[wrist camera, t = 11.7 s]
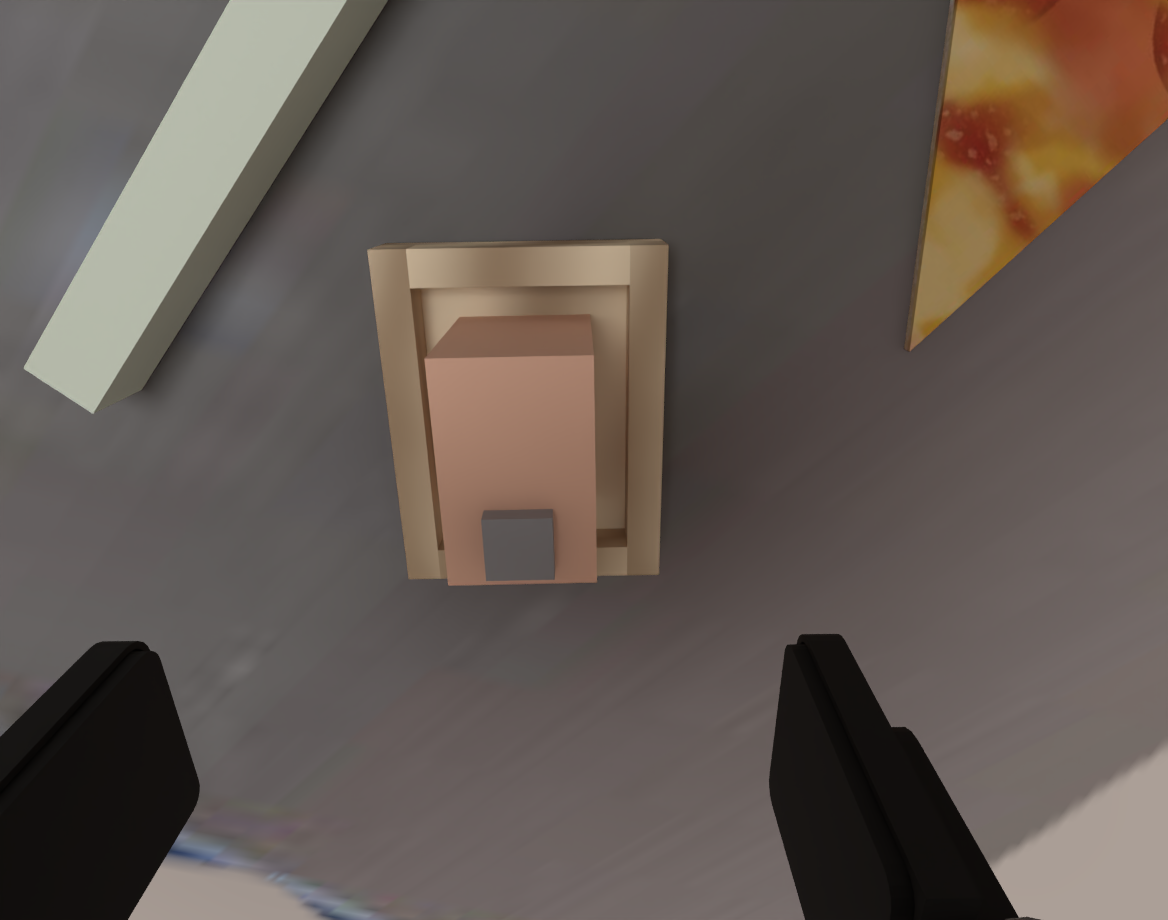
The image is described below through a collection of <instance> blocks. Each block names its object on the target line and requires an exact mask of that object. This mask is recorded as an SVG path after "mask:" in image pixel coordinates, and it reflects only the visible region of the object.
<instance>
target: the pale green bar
mask: <svg viewBox="0 0 1168 920" xmlns="http://www.w3.org/2000/svg"><path fill="white" fill-rule="evenodd" d="M387 1H388V0H230V1H229V3H228V5H227V6H226V8H225V10H224V12H223V14H222V15H221V17H220V19H219V21H218V23H217V24H216V26H215V28H214V30H213V31H212V33H211V35H210V37H209V39H208V40H207V42H206V44H205V46H204V47H203V49H202V51H201V53H200V55H199V56H198V58H197V60H196V62H195V63H194V65H193V67H192V69H191V71H190V72H189V74H188V76H187V78H186V79H185V81H184V83H183V85H182V87H181V88H180V90H179V92H178V94H177V96H176V97H175V99H174V101H173V103H172V104H171V106H170V108H169V110H168V112H167V113H166V115H165V117H164V119H163V120H162V122H161V124H160V126H159V128H158V129H157V131H156V133H155V135H154V136H153V138H152V140H151V142H150V144H149V145H148V147H147V149H146V151H145V153H144V154H143V156H142V158H141V160H140V161H139V163H138V165H137V167H136V169H135V170H134V172H133V174H132V176H131V177H130V179H129V181H128V183H127V185H126V186H125V188H124V190H123V192H122V193H121V195H120V197H119V199H118V201H117V202H116V204H115V206H114V208H113V210H112V211H111V213H110V215H109V217H108V218H107V220H106V222H105V224H104V226H103V227H102V229H101V231H100V233H99V234H98V236H97V238H96V240H95V242H94V243H93V245H92V247H91V249H90V250H89V252H88V254H87V256H86V258H85V259H84V261H83V263H82V265H81V266H80V268H79V270H78V272H77V274H76V275H75V277H74V279H73V281H72V283H71V284H70V286H69V288H68V290H67V291H66V293H65V295H64V297H63V299H62V300H61V302H60V304H59V306H58V307H57V309H56V311H55V313H54V315H53V316H52V318H51V320H50V322H49V323H48V325H47V327H46V329H45V331H44V332H43V334H42V336H41V338H40V340H39V341H38V343H37V345H36V347H35V348H34V350H33V352H32V354H31V356H30V357H29V359H28V361H27V363H26V364H25V366H24V369H25V370H27V371H28V372H30V373H31V374H33V375H34V376H36V377H37V378H39V379H40V380H42V381H43V382H45V383H47V384H48V385H50V386H51V387H53V388H54V389H56V390H57V391H59V392H60V393H62V394H63V395H65V396H66V397H68V398H70V399H71V400H73V401H74V402H76V403H77V404H79V405H80V406H82V407H83V408H85V409H86V410H88V411H90V412H91V413H93V414H94V413H96V412H98V411H100V410H102V409H104V408H106V407H108V406H110V405H112V404H114V403H116V402H118V401H120V400H122V399H124V398H126V397H128V396H130V395H132V394H134V393H137V392H139V391H141V390H142V389H143V387H144V386H145V384H146V382H147V381H148V379H149V378H150V376H151V374H152V373H153V371H154V370H155V368H156V367H157V365H158V363H159V362H160V360H161V359H162V357H163V355H164V354H165V352H166V351H167V349H168V348H169V346H170V344H171V343H172V341H173V340H174V338H175V337H176V335H177V333H178V332H179V330H180V329H181V327H182V325H183V324H184V322H185V321H186V319H187V318H188V316H189V314H190V313H191V311H192V310H193V308H194V306H195V305H196V303H197V302H198V300H199V299H200V297H201V295H202V294H203V292H204V291H205V289H206V287H207V286H208V284H209V283H210V281H211V280H212V278H213V276H214V275H215V273H216V272H217V270H218V269H219V267H220V265H221V264H222V262H223V261H224V259H225V257H226V256H227V254H228V253H229V251H230V250H231V248H232V246H233V245H234V243H235V242H236V240H237V238H238V237H239V235H240V234H241V232H242V231H243V229H244V227H245V226H246V224H247V223H248V221H249V219H250V218H251V216H252V215H253V213H254V212H255V210H256V208H257V207H258V205H259V204H260V202H261V201H262V199H263V197H264V196H265V194H266V193H267V191H268V189H269V188H270V186H271V185H272V183H273V182H274V180H275V178H276V177H277V175H278V174H279V172H280V170H281V169H282V167H283V166H284V164H285V163H286V161H287V159H288V158H289V156H290V155H291V153H292V152H293V150H294V148H295V147H296V145H297V144H298V142H299V140H300V139H301V137H302V136H303V134H304V133H305V131H306V129H307V128H308V126H309V125H310V123H311V121H312V120H313V118H314V117H315V115H316V114H317V112H318V110H319V109H320V107H321V106H322V104H323V102H324V101H325V99H326V98H327V96H328V95H329V93H330V91H331V90H332V88H333V87H334V85H335V84H336V82H337V80H338V79H339V77H340V76H341V74H342V72H343V71H344V69H345V68H346V66H347V65H348V63H349V61H350V60H351V58H352V57H353V55H354V53H355V52H356V50H357V49H358V47H359V46H360V44H361V42H362V41H363V39H364V38H365V36H366V34H367V33H368V31H369V30H370V28H371V27H372V25H373V23H374V22H375V20H376V19H377V17H378V16H379V14H380V12H381V11H382V9H383V8H384V6H385V4H386V3H387Z"/></svg>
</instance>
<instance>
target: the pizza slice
mask: <svg viewBox="0 0 1168 920" xmlns="http://www.w3.org/2000/svg"><path fill="white" fill-rule="evenodd" d="M1167 119H1168V0H950V7H949V15H948V22H947V30H946V37H945V45H944V52H943V60H942V67H941V75H940V82H939V90H938V97H937V105H936V112H935V120H934V127H933V135H932V142H931V150H930V158H929V165H928V173H927V180H926V188H925V195H924V203H923V210H922V218H921V225H920V233H919V240H918V248H917V255H916V263H915V270H914V278H913V285H912V293H911V301H910V308H909V316H908V323H907V331H906V338H905V346H904V349H905V350H907V351H909V352H910V351H911V350H912V349H913V348H914V347H915V346H916V345H918V344H919V343H920V342H921V341H922V340H923V339H924V338H925V337H926V336H928V335H929V334H930V333H931V332H932V331H933V330H934V329H935V328H936V327H938V326H939V325H940V324H941V323H942V322H943V321H944V320H945V319H946V318H947V317H949V316H950V315H951V314H952V313H953V312H954V311H955V310H956V309H957V308H959V307H960V306H961V305H962V304H963V303H964V302H965V301H966V300H967V299H969V298H970V297H971V296H972V295H973V294H974V293H975V292H976V291H977V290H978V289H980V288H981V287H982V286H983V285H984V284H985V283H986V282H987V281H988V280H990V279H991V278H992V277H993V276H994V275H995V274H996V273H997V272H998V271H1000V270H1001V269H1002V268H1003V267H1004V266H1005V265H1006V264H1007V263H1008V262H1009V261H1011V260H1012V259H1013V258H1014V257H1015V256H1016V255H1017V254H1018V253H1019V252H1021V251H1022V250H1023V249H1024V248H1025V247H1026V246H1027V245H1028V244H1029V243H1031V242H1032V241H1033V240H1034V239H1035V238H1036V237H1037V236H1038V235H1039V234H1041V233H1042V232H1043V231H1044V230H1045V229H1046V228H1047V227H1048V226H1049V225H1050V224H1052V223H1053V222H1054V221H1055V220H1056V219H1057V218H1058V217H1059V216H1060V215H1062V214H1063V213H1064V212H1065V211H1066V210H1067V209H1068V208H1069V207H1070V206H1072V205H1073V204H1074V203H1075V202H1076V201H1077V200H1078V199H1079V198H1080V197H1081V196H1083V195H1084V194H1085V193H1086V192H1087V191H1088V190H1089V189H1090V188H1091V187H1093V186H1094V185H1095V184H1096V183H1097V182H1098V181H1099V180H1100V179H1101V178H1103V177H1104V176H1105V175H1106V174H1107V173H1108V172H1109V171H1110V170H1111V169H1112V168H1114V167H1115V166H1116V165H1117V164H1118V163H1119V162H1120V161H1121V160H1122V159H1124V158H1125V157H1126V156H1127V155H1128V154H1129V153H1130V152H1131V151H1132V150H1134V149H1135V148H1136V147H1137V146H1138V145H1139V144H1140V143H1141V142H1142V141H1143V140H1145V139H1146V138H1147V137H1148V136H1149V135H1150V134H1151V133H1152V132H1153V131H1155V130H1156V129H1157V128H1158V127H1159V126H1160V125H1161V124H1162V123H1163V122H1165V121H1166V120H1167Z"/></svg>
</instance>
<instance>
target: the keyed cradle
mask: <svg viewBox="0 0 1168 920" xmlns="http://www.w3.org/2000/svg"><path fill="white" fill-rule="evenodd" d="M668 249H669V245H668V244H667V243H665V242H664V241H663V240H661V239H620V240H558V241H496V242H434V243H385V244H382V245H380V246H377V247H374V248H371V249H368V250H367V251H368V259H369V267H370V275H371V283H372V291H373V299H374V307H375V315H376V323H377V331H378V339H379V347H380V355H381V363H382V371H383V379H384V387H385V394H386V402H387V410H388V418H389V426H390V434H391V442H392V450H393V458H394V466H395V474H396V482H397V490H398V498H399V506H400V514H401V522H402V530H403V538H404V545H405V553H406V561H407V569H408V577H409V579H445V578H447V568H446V559H445V549H444V540H443V530H442V521H441V512H440V502H439V493H438V483H437V474H436V464H435V455H434V445H433V436H432V427H431V417H430V408H429V398H428V389H427V379H426V370H425V361H424V358H425V357H426V356H427V355H428V354H429V352H430V351H431V350H432V349H433V348H434V347H435V345H436V344H437V343H438V342H439V341H440V339H441V338H442V337H443V336H444V335H445V333H446V332H447V331H448V330H449V329H450V328H451V326H452V325H453V324H454V323H455V322H456V320H457V319H458V318H459V317H474V316H524V315H573V314H590V319H591V329H592V340H593V350H594V394H595V470H596V545H597V576H615V575H659V554H660V520H661V486H662V452H663V418H664V384H665V350H666V316H667V282H668Z"/></svg>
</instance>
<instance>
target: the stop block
mask: <svg viewBox="0 0 1168 920" xmlns="http://www.w3.org/2000/svg"><path fill="white" fill-rule="evenodd" d="M424 361H425V370H426V379H427V389H428V398H429V408H430V417H431V427H432V436H433V445H434V455H435V464H436V474H437V483H438V493H439V502H440V512H441V521H442V530H443V540H444V549H445V559H446V568H447V578H448V586H453V585H501V584H549V583H597V545H596V470H595V394H594V350H593V340H592V329H591V319H590V314H573V315H524V316H474V317H459V318H458V319H457V320H456V322H455V323H454V324H453V325H452V326H451V328H450V329H449V330H448V331H447V332H446V333H445V335H444V336H443V337H442V338H441V339H440V341H439V342H438V343H437V344H436V345H435V347H434V348H433V349H432V350H431V351H430V352H429V354H428V355H427V356H426V357H425V358H424Z"/></svg>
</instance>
